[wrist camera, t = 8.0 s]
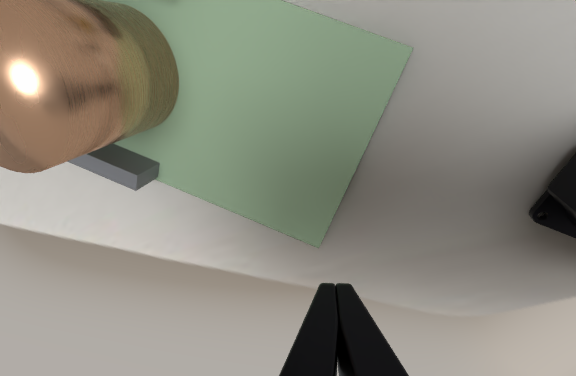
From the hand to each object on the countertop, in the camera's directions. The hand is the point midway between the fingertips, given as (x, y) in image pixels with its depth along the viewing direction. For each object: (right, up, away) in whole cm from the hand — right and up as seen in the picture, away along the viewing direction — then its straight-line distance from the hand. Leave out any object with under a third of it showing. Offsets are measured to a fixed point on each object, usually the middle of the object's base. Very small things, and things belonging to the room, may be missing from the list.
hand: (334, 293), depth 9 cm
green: (-7, +9, +11) cm, 16 cm away
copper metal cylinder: (-12, +10, +11) cm, 19 cm away
